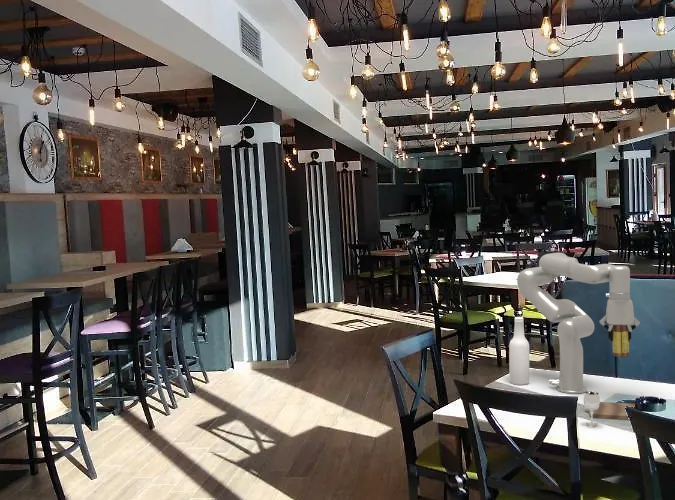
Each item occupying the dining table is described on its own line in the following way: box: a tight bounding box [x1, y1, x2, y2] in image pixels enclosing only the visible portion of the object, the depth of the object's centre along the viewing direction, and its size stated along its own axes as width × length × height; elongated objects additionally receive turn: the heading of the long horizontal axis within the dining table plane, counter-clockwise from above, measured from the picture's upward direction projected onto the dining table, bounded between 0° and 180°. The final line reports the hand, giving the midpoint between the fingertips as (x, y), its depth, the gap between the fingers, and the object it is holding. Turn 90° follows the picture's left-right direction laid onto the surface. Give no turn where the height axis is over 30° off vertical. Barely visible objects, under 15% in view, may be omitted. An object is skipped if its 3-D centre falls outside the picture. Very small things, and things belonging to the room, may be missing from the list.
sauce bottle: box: [611, 324, 630, 358], centre depth 268 cm, size 7×6×20 cm
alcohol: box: [508, 316, 531, 386], centre depth 301 cm, size 9×9×30 cm
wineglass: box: [583, 390, 601, 428], centre depth 245 cm, size 6×6×12 cm
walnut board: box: [587, 401, 636, 421], centre depth 258 cm, size 20×16×2 cm
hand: (619, 340), depth 269 cm, fingers closed on sauce bottle, 5 cm apart
